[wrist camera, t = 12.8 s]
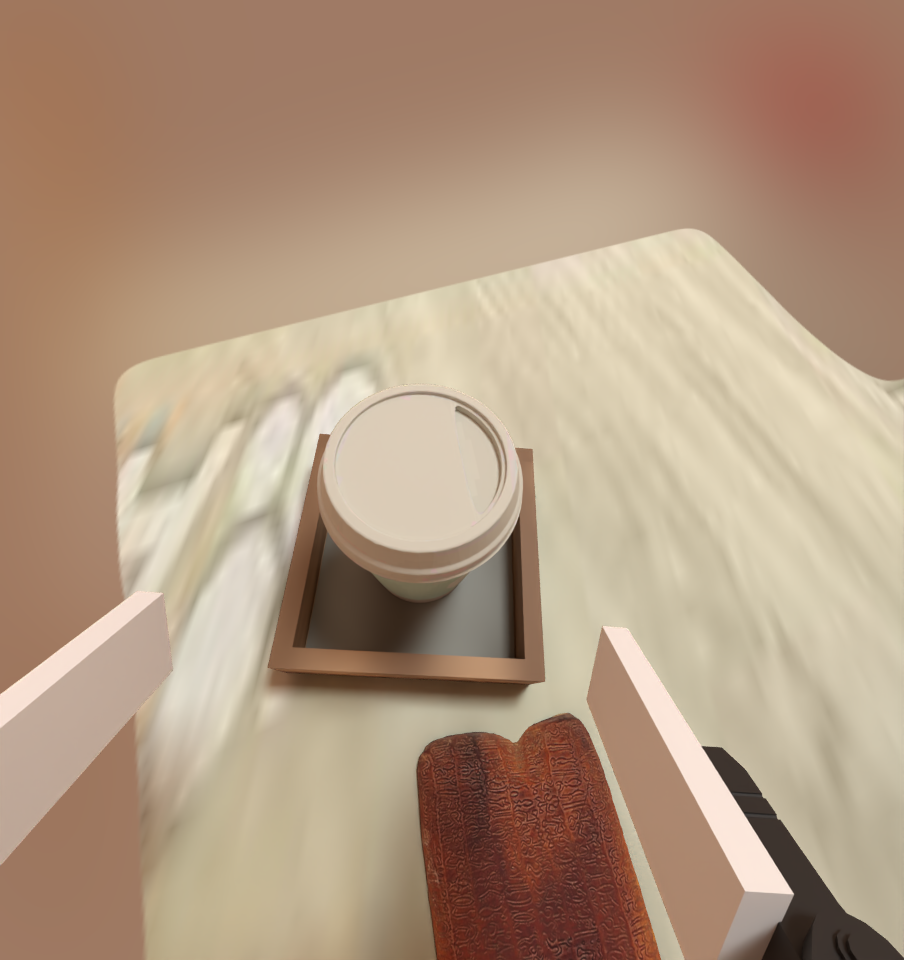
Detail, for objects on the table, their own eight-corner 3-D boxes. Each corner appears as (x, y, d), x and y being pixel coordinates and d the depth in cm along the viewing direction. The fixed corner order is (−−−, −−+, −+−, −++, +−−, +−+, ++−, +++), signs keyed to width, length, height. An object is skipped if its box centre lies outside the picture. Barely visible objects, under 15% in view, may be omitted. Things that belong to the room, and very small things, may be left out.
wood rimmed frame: (521, 474, 32) (532, 449, 28) (529, 684, 25) (545, 681, 22) (329, 461, 31) (319, 433, 28) (286, 672, 24) (267, 667, 21)
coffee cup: (458, 651, 24) (487, 610, 14) (325, 591, 26) (259, 510, 15) (507, 524, 28) (559, 415, 18) (390, 476, 29) (373, 347, 19)
